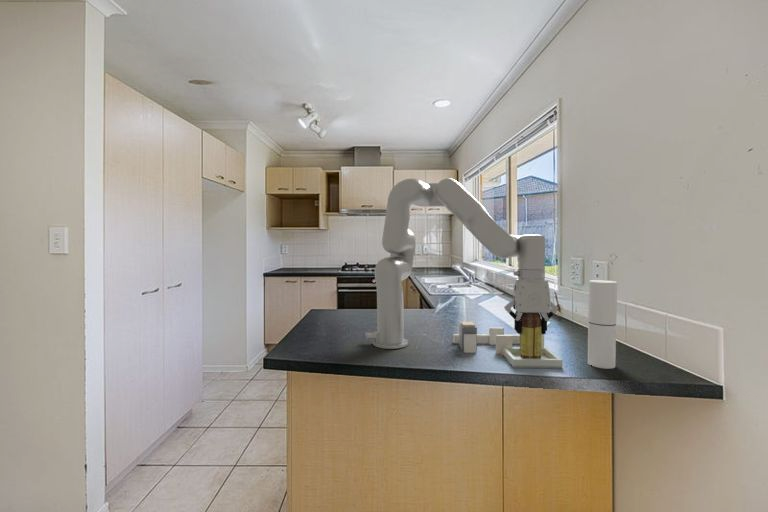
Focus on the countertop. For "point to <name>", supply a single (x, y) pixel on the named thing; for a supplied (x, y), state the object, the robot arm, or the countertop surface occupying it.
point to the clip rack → (485, 338)
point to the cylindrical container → (602, 323)
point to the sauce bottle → (530, 336)
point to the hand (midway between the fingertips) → (530, 332)
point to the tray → (546, 359)
